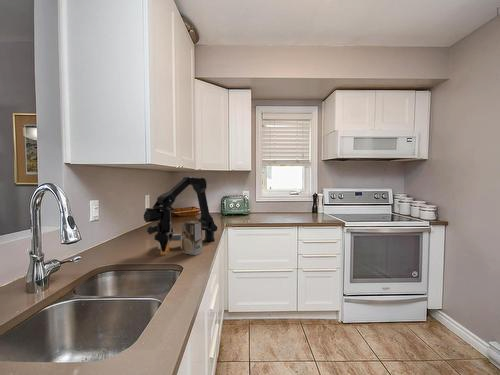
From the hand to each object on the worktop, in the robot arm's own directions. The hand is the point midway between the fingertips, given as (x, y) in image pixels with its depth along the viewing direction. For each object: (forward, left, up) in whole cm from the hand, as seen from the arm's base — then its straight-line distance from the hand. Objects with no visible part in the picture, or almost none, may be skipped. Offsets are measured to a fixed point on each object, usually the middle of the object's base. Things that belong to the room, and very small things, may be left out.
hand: (164, 249), depth 134 cm
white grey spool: (-10, +3, -2) cm, 11 cm away
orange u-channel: (0, 0, -2) cm, 2 cm away
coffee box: (+1, +14, -2) cm, 14 cm away
